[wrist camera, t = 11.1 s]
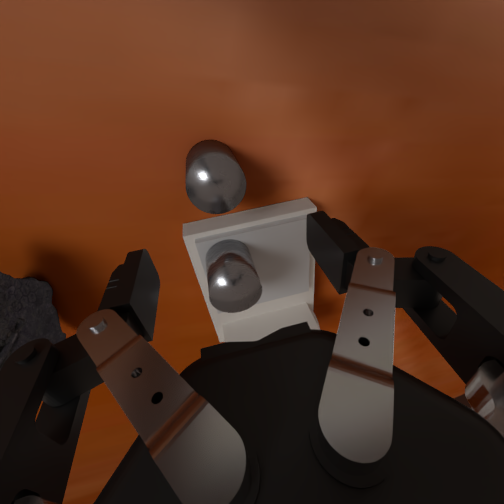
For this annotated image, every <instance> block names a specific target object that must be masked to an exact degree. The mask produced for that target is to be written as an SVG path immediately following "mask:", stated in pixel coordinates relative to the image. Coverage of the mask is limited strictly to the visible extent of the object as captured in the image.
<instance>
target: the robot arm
mask: <svg viewBox="0 0 504 504" xmlns="http://www.w3.org/2000/svg"><path fill="white" fill-rule="evenodd" d="M306 241H307V246H308V249H309V251H310V253H311V254H312V256H313V257H314V258H315V260H316V261H317V263H318V264H319V266H320V267H321V269H322V270H323V272H324V273H325V274H326V276H327V277H328V279H329V280H330V282H331V283H332V285H333V286H334V288H335V289H336V290H337V292H338V293H339V294H343V293H347V294H346V298H345V303H344V307H343V311H342V315H341V319H340V324H339V328H338V332H337V334H335V333H332V332H329V331H324V330H317V329H310V327H309V325H308V323H307V322H303V323H299V324H295V325H291V326H287V327H283V328H281V329H279V330H277V331H275V332H273V333H271V334H269V335H267V336H265V337H263V338H262V339H260V340H257V341H243V342H225V343H221V344H217V345H213V346H210V347H206V348H202V349H201V358H200V359H198V360H196V361H195V362H193V363H192V364H190V365H189V366H188V367H187V368H185V369H184V370H183V371H182V372H181V373H180V375H179V374H178V373H177V372H176V371H175V370H174V369H173V368H172V367H171V366H170V365H169V364H168V363H167V362H166V361H165V360H164V359H163V357H162V356H161V355H160V354H159V353H158V352H157V351H156V350H155V349H154V348H153V347H152V346H151V345H150V344H149V343H148V342H149V341H152V340H153V333H154V325H155V318H156V311H157V303H158V296H159V288H160V280H159V276H158V273H157V271H156V268H155V266H154V264H153V262H152V260H151V258H150V256H149V253H148V252H147V250H146V249H142V250H137V251H132V252H129V253H128V254H127V257H126V260H125V263H124V264H122V265H119V266H118V267H117V268H116V269H115V270H114V271H113V273H112V275H111V277H110V280H109V283H108V285H107V289H106V290H105V293H104V295H103V298H102V301H101V303H100V306H99V308H98V311H97V312H95V313H93V314H91V315H90V316H88V317H87V318H86V319H85V320H84V321H83V322H82V323H81V324H80V325H79V327H78V329H77V332H76V334H75V335H73V336H71V337H69V338H66V339H64V340H62V341H60V342H58V343H56V344H54V345H53V344H52V343H51V342H50V341H49V340H48V339H46V338H39V339H35V340H32V341H30V342H28V343H26V344H24V345H22V346H21V347H19V348H18V349H17V350H16V351H14V352H13V353H12V354H11V355H10V356H9V357H8V359H7V360H6V361H5V363H4V365H3V366H2V368H1V370H0V504H62V502H63V498H64V494H65V490H66V486H67V482H68V478H69V474H70V470H71V466H72V462H73V458H74V454H75V450H76V446H77V442H78V438H79V434H80V430H81V426H82V422H83V418H84V414H85V410H86V406H87V402H88V398H89V394H90V390H91V389H92V388H94V387H96V386H98V385H99V384H101V383H103V382H105V384H106V385H107V387H108V388H109V390H110V391H111V393H112V394H113V396H114V397H115V399H116V400H117V402H118V403H119V405H120V407H121V408H122V410H123V411H124V413H125V414H126V416H127V417H128V419H129V420H130V422H131V423H132V425H133V426H134V428H135V429H136V431H137V432H138V434H139V435H138V437H137V438H136V440H135V441H134V443H133V444H132V446H131V447H130V449H129V450H128V452H127V454H126V455H125V457H124V458H123V460H122V461H121V463H120V464H119V466H118V467H117V469H116V470H115V472H114V473H113V475H112V476H111V478H110V479H109V481H108V482H107V484H106V485H105V487H104V488H103V490H102V492H101V493H100V495H99V496H98V498H97V499H96V501H95V502H94V504H504V291H503V290H502V289H500V288H499V287H498V286H496V285H495V284H494V283H492V282H491V281H490V280H488V279H487V278H486V277H484V276H483V275H482V274H480V273H479V272H477V271H476V270H475V269H473V268H472V267H471V266H469V265H468V264H467V263H465V262H464V261H463V260H461V259H460V258H459V257H457V256H456V255H454V254H453V253H452V252H450V251H448V250H446V249H443V248H439V247H432V246H427V247H421V248H419V249H418V250H417V251H416V253H415V256H414V258H394V257H393V255H392V254H391V253H389V252H388V251H386V250H384V249H381V248H375V247H369V246H368V245H367V244H366V243H365V242H364V241H363V240H362V239H361V238H360V237H359V236H358V235H357V234H356V233H354V232H353V231H352V230H351V229H349V227H348V226H347V225H346V224H345V223H344V222H342V221H340V220H338V219H336V218H332V219H331V218H330V217H329V216H328V215H327V214H326V213H325V212H324V211H319V212H314V213H309V214H307V220H306ZM442 296H443V297H444V298H445V299H446V300H447V301H448V302H449V303H450V304H451V305H452V306H453V307H454V308H455V310H456V313H457V315H456V314H455V313H454V312H453V311H452V310H451V309H450V308H449V307H448V306H447V305H446V304H445V303H444V302H443V301H442V300H441V299H442ZM395 308H403V309H404V310H405V311H406V313H407V314H408V315H409V316H410V317H411V319H412V320H413V321H414V322H415V323H416V325H417V326H418V327H419V328H420V330H421V331H422V332H423V333H424V334H425V336H426V337H427V338H428V339H429V340H430V342H431V343H432V344H433V345H434V346H435V348H436V349H437V350H438V351H439V352H440V354H441V355H442V356H443V357H444V359H445V360H446V361H447V362H448V363H449V365H450V366H451V367H452V368H453V369H454V371H455V372H456V373H457V374H458V375H459V377H460V378H461V379H462V380H463V382H464V383H465V384H466V386H465V394H466V397H467V399H468V401H469V403H470V404H471V406H472V407H471V409H470V408H468V407H467V406H465V405H464V404H462V403H460V402H458V401H456V400H454V399H453V398H451V397H449V396H448V395H446V394H444V393H442V392H440V391H439V390H437V389H435V388H433V387H431V386H430V385H428V384H426V383H424V382H423V381H421V380H419V379H417V378H415V377H414V376H412V375H410V374H408V373H406V372H405V371H403V370H401V369H399V368H397V367H396V366H394V365H393V348H394V325H395ZM41 401H43V404H42V406H41V409H40V411H39V414H38V417H37V419H36V422H35V418H36V414H37V411H38V409H39V406H40V404H41Z"/></svg>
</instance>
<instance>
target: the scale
mask: <svg viewBox="0 0 504 504" xmlns="http://www.w3.org/2000/svg"><path fill="white" fill-rule="evenodd" d="M314 212H317V207H316V206H315V205H314V204H313V203H312V202H311V201H310V200H309V199H308V197H306V198H302V199H297V200H292V201H288V202H283V203H278V204H274V205H269V206H264V207H260V208H255V209H251V210H246V211H241V212H237V213H232V214H227V215H223V216H218V217H213V218H209V219H204V220H200V221H195V222H190V223H186V224H183V239H184V242H185V245H186V247H187V250H188V253H189V256H190V259H191V261H192V264H193V267H194V270H195V273H196V276H197V278H198V281H199V284H200V287H201V290H202V293H203V295H204V298H205V301H206V304H207V307H208V309H209V312H210V315H211V318H212V321H213V324H214V326H215V329H216V332H217V335H218V338H219V341H220V342H224V341H225V342H243V341H257V340H260V339H262V338H263V337H265V336H267V335H269V334H271V333H273V332H275V331H277V330H279V329H281V328H283V327H287V326H291V325H295V324H299V323H303V322H307V323H308V325H309V327H310V329H317V330H320V328H319V323H318V320H317V317H316V315H315V313H314V312H313V306H314V276H315V258H314V257H313V256H312V254H311V253H310V251H309V249H308V246H307V241H306V220H307V214H309V213H314ZM226 239H233V240H238V241H240V242H242V243H244V244H245V245H246V246H247V247H248V249H249V251H250V254H251V257H252V260H253V263H254V265H255V268H256V271H257V274H258V277H259V280H260V282H261V285H262V295H261V297H260V299H259V300H258V302H257V303H256V304H255V305H253V306H252V307H250V308H249V309H247V310H244V311H241V312H236V313H227V312H222V311H219V310H217V309H216V308H214V307H213V306H212V304H211V302H210V299H209V291H208V281H207V271H206V261H205V258H206V254H207V251H208V250H209V248H210V247H211V246H212V245H214V244H215V243H217V242H219V241H222V240H226Z"/></svg>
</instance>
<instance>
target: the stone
mask: <svg viewBox="0 0 504 504" xmlns="http://www.w3.org/2000/svg"><path fill="white" fill-rule="evenodd" d="M52 295H53V290H52V288H51V286H50V285H49V283H48V282H46V281H38V280H37V279H35V278H32V277H25V278H22V279H20V278H13V277H11V276H10V275H6V274H3V273H1V272H0V370H1V368H2V366H3V365H4V363H5V361H6V360H7V359H8V357H9V356H10V355H11V354H12V353H13V352H14V351H16V350H17V349H18V348H19V347H21V346H22V345H24V344H26V343H28V342H30V341H32V340H35V339H39V338H46V339H48V340H49V341H50V342H51V343H52V344H53V345H54V344H56V343H58V342H60V341H62V340H64V339H65V338H66V334H65V333H62V330H61V327H60V323H59V317H58V314H57V310H56V308H55V307H54V306H53V305H52Z"/></svg>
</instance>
